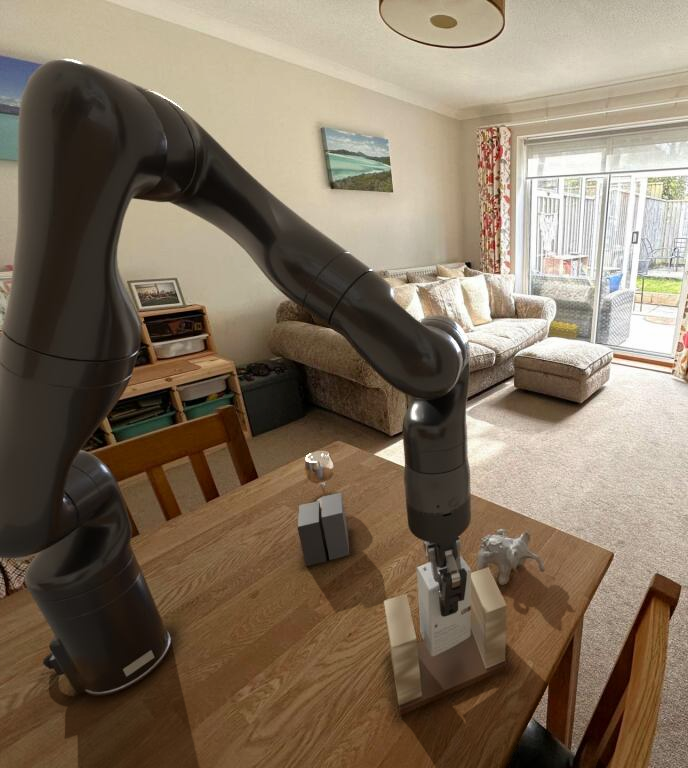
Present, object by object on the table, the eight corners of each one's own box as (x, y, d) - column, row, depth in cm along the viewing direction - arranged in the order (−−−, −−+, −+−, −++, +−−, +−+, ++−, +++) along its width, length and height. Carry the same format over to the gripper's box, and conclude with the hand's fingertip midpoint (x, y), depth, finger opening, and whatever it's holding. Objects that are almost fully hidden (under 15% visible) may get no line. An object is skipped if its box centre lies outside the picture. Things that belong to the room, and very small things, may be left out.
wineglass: (345, 499, 92) (337, 454, 88) (322, 513, 88) (313, 466, 83) (329, 490, 95) (321, 446, 91) (306, 504, 90) (297, 458, 86)
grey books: (306, 566, 74) (296, 523, 70) (307, 543, 80) (298, 501, 76) (349, 554, 77) (342, 512, 73) (347, 532, 82) (341, 492, 79)
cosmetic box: (431, 659, 53) (427, 592, 48) (419, 632, 56) (414, 567, 52) (473, 635, 56) (473, 571, 51) (458, 611, 60) (457, 548, 55)
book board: (400, 715, 52) (391, 651, 48) (391, 658, 59) (383, 597, 54) (506, 669, 58) (508, 608, 53) (487, 622, 65) (487, 564, 60)
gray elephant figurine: (481, 550, 79) (480, 519, 76) (542, 553, 78) (544, 522, 76) (474, 590, 70) (474, 556, 67) (543, 594, 70) (545, 560, 67)
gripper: (396, 464, 52) (405, 565, 58) (418, 539, 40) (427, 656, 46) (452, 453, 55) (456, 550, 61) (489, 520, 43) (489, 633, 49)
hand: (444, 595), depth 53 cm, fingers closed on cosmetic box, 4 cm apart
